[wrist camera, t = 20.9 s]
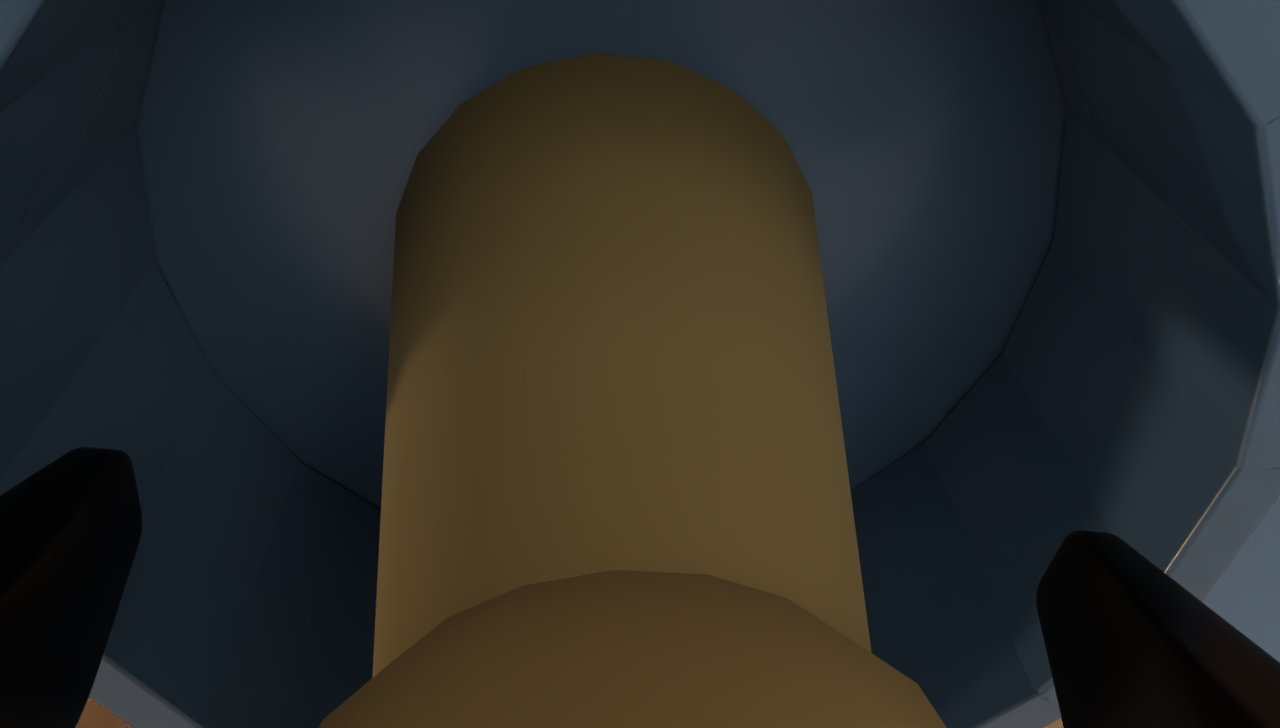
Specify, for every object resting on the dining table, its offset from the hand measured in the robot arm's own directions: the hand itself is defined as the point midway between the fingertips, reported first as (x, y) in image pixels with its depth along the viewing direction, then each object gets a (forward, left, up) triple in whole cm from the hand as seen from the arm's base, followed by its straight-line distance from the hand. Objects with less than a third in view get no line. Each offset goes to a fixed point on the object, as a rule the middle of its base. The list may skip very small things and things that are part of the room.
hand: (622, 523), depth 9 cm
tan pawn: (0, 0, -6) cm, 6 cm away
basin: (0, 0, -6) cm, 6 cm away
